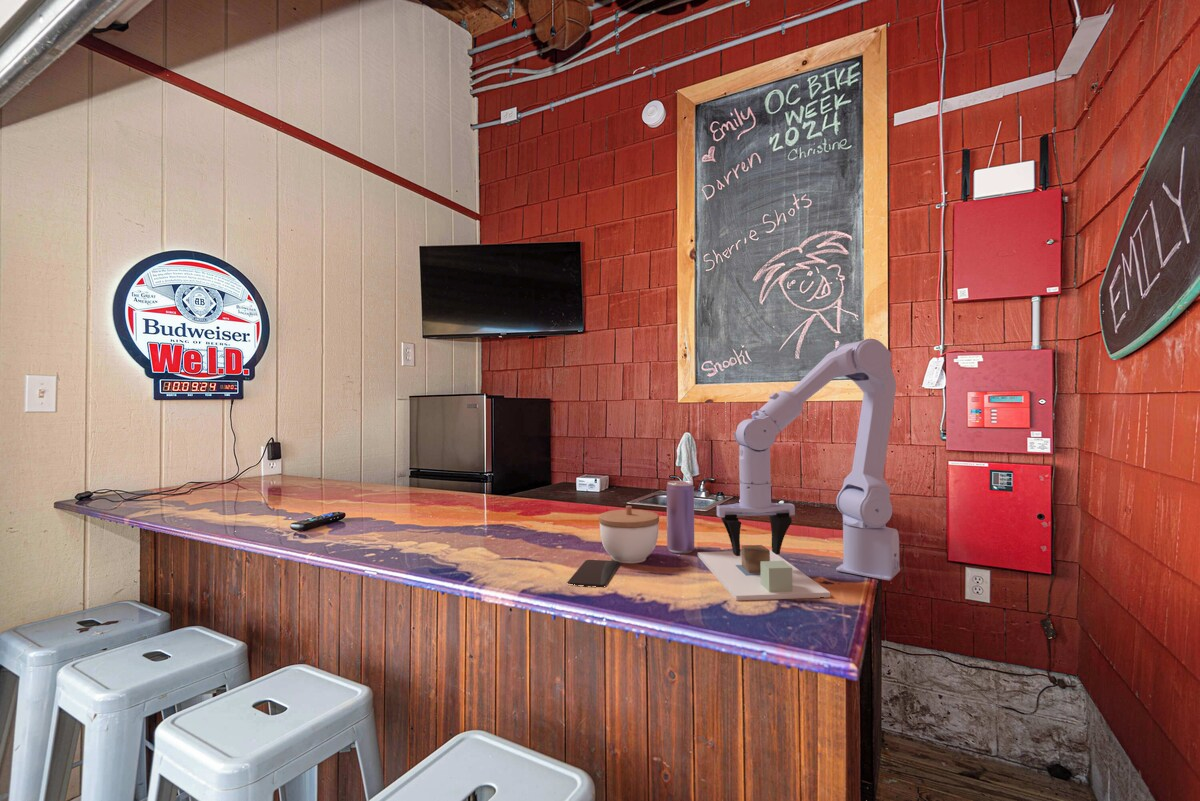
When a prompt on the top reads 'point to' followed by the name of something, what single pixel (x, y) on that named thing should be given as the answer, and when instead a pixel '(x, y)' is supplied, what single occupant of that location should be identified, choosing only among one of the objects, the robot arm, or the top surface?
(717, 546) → the top surface
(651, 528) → the lidded bowl
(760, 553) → the walnut block
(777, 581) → the sage block
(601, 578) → the smartphone
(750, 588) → the white flat panel
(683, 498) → the beverage can
